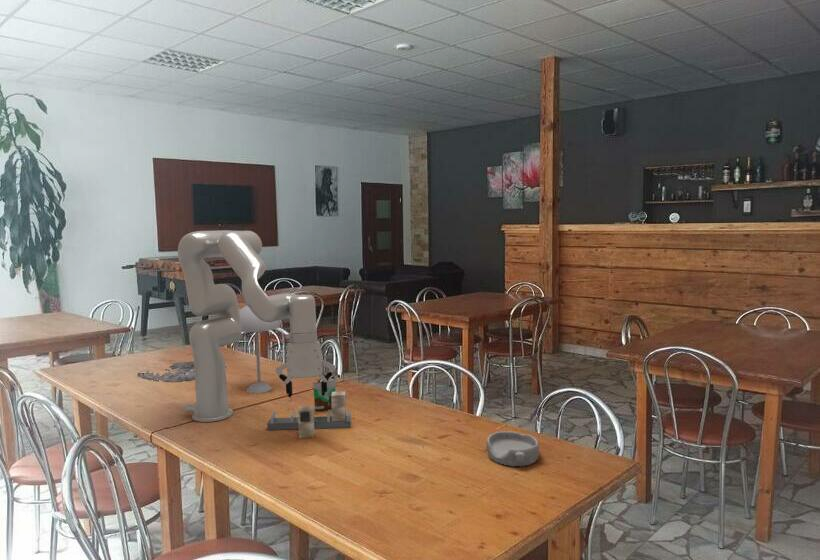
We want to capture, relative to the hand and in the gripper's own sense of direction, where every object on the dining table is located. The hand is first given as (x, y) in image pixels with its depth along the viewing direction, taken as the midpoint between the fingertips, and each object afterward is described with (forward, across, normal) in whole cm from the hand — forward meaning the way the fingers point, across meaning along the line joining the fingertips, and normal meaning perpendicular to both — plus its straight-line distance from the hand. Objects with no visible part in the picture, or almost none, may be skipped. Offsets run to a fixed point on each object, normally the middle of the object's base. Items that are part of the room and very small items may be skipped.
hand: (307, 395), depth 175 cm
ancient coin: (+10, -64, +80) cm, 103 cm away
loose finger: (+12, -1, 0) cm, 12 cm away
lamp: (+11, -25, +49) cm, 56 cm away
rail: (+12, -1, +8) cm, 14 cm away
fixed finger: (+10, +8, +8) cm, 15 cm away
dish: (+14, +56, -20) cm, 61 cm away
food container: (+12, +3, +26) cm, 29 cm away
